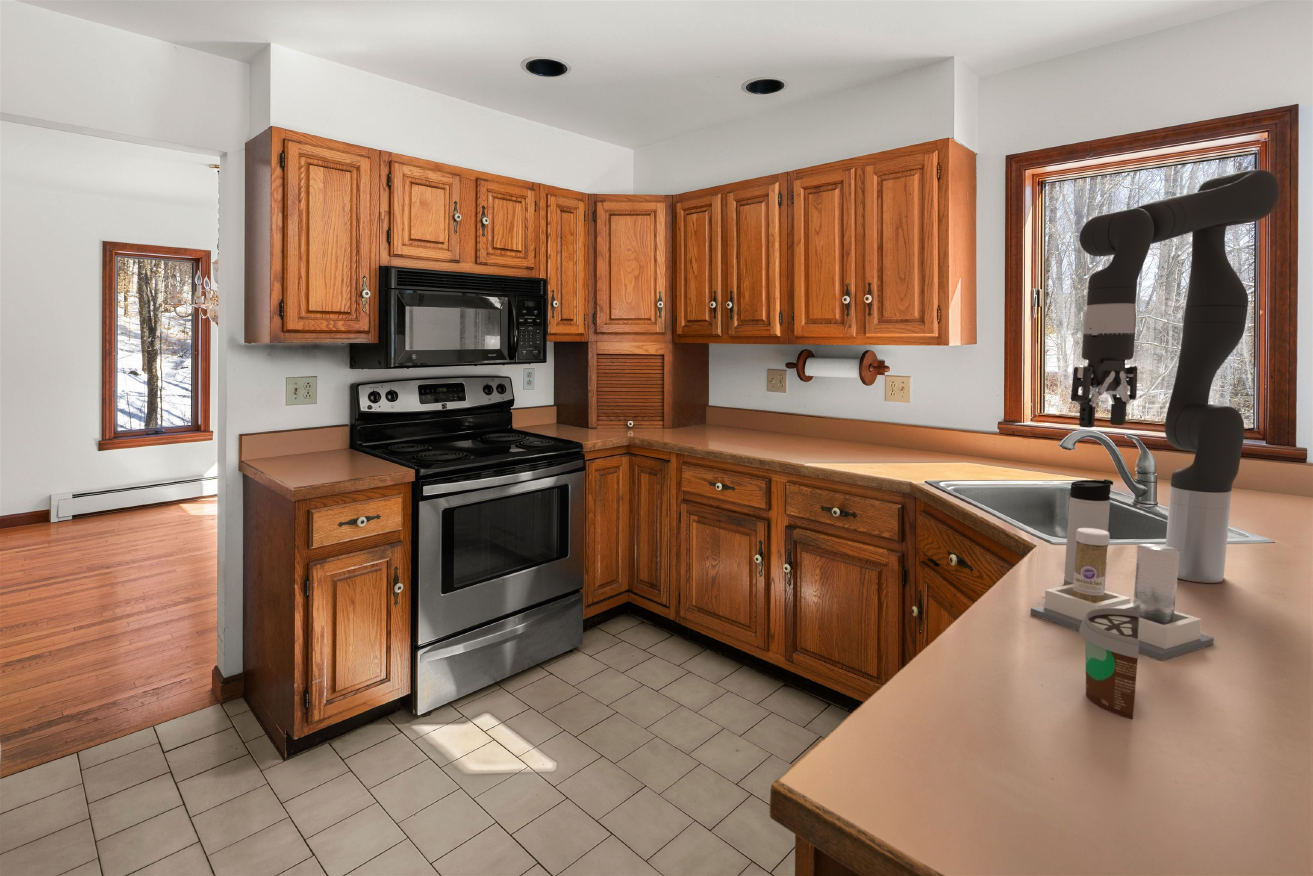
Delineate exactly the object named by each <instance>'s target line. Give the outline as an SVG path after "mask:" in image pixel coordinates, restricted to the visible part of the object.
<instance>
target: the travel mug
mask: <svg viewBox="0 0 1313 876" xmlns="http://www.w3.org/2000/svg"><path fill="white" fill-rule="evenodd" d="M1111 486H1114V481H1113V480H1110V479H1103V480H1102V479H1085V480H1084V479H1082V480H1075V481H1072V482H1071V485H1070V493H1069V494H1070V495H1069V503H1068V514H1067V515H1068V517H1067V531H1066V532H1067V533H1066V547H1065V548H1066V549H1065V561H1064V577H1063V578H1064V579H1063V584H1064V586H1066V585H1071V584H1073V582H1074V569H1075V558H1076V548H1077V543H1076V531H1077V529H1079V528H1094V529H1100V530H1104V531H1107V532H1108V533H1109V520H1110V509H1111V508H1110V507H1111V504H1110V502H1111V496H1110V494H1111V488H1112V487H1111Z"/></svg>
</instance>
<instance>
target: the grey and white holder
mask: <svg viewBox="0 0 1313 876" xmlns="http://www.w3.org/2000/svg"><path fill="white" fill-rule="evenodd" d="M1101 608H1122V609H1132V610H1133V602H1131V597H1128V596H1124V595H1122V594H1117V593H1114V592H1111V591H1108V590H1105V592H1104V598H1103V601H1102V602H1097V603H1092V602H1089V601H1086V600H1083V599H1079V598H1076V597H1073V584H1071V585H1063V586H1057V587H1052V588H1048V589H1045V590H1044V604H1042V605H1039V606H1035V607H1030V615H1033V616H1035V617H1037V616H1038V617H1037V618H1041V619H1043V618H1044V619H1043V620H1046V619H1047V620H1046V621H1048V622H1051V621H1052V623H1054V622H1056V623H1055V624H1057V623H1058V625H1060V626H1062V625H1064V626H1063V627H1065V626H1066V627H1065V628H1068V627H1069V628H1068V629H1071V628H1072V629H1071V630H1074V629H1075V630H1074V631H1076V630H1077V632H1079V629H1080V626H1081V623H1082V620H1083V618H1084V617H1085V616H1086V614H1087V613H1088V612H1089V611H1091V610H1095V609H1101ZM1201 626H1202V618H1199V617H1195V616H1192V615H1188V614H1187V613H1182V612H1179V611H1175V610H1174V621H1173V623H1169V624H1166V625H1162V624H1159V623H1156V622H1152V621H1149V620H1146V619H1143V618H1140V617H1139V629H1138V639H1139V650H1138V654H1140V655H1144V656H1146V657H1149V658H1153V659H1155V660H1157V661H1161V662H1162V661H1166V660H1168V659H1171V658H1174V657H1178V656H1181V655H1184V654H1187V653H1191V652H1194V651H1197V650H1200V649H1199V648H1201V649H1203V648H1207V647H1210V646H1213V645H1214V644H1215V643H1214V642H1215V638H1214V637H1213V636H1209V635H1205V634H1204V633H1203V634H1202V633H1201ZM1209 645H1210V646H1209ZM1206 646H1207V647H1206Z"/></svg>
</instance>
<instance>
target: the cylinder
mask: <svg viewBox="0 0 1313 876" xmlns="http://www.w3.org/2000/svg"><path fill="white" fill-rule="evenodd" d="M1136 553H1137V554H1136V565H1135V566H1136V567H1135V577H1134V578H1135V580H1134V592H1133V593H1134V594H1133V602H1132V603H1133V610H1139V611H1140V616H1139V617H1140V618H1143V619H1146V620H1149V621H1152V622H1156V623H1159V624H1162V625H1166V624H1169V623H1173V621H1174V611H1175V608H1176V599H1177V598H1176V596H1177V584H1178V578H1177V575H1178V563H1179V550H1178V549H1175V548H1172V547H1168V546H1166V545H1163V544H1162V545H1161V544H1156V543H1155V544H1154V543H1151V544H1150V543H1141V544H1138V545H1137V552H1136Z"/></svg>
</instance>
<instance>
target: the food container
mask: <svg viewBox="0 0 1313 876" xmlns="http://www.w3.org/2000/svg"><path fill="white" fill-rule="evenodd" d="M1139 616H1140V611H1139V610H1132V609H1122V608H1101V609H1095V610H1091V611H1089V612H1088V613H1087V614H1086V616H1085V617H1084V618H1083V620H1082V623H1081V626H1080V629H1079V631H1078V633H1079V634H1080V636H1082V637H1083V639H1084V640H1085V641H1084V642H1085V647H1084V651H1085V653H1084V655H1085V657H1084V658H1085V696H1086V698H1087V699H1088V700H1089V701H1090V702H1091V703H1092V704H1094V706H1097V707H1099V708H1100V709H1103V710H1104V711H1106V712H1109V713H1112V714H1114V715H1117V716H1119V717H1123V718H1127V719H1131V720H1134V708H1135V697H1136V696H1135V694H1136V685H1137V684H1136V683H1137V671H1138V662H1139V661H1138V659H1139V653H1138V650H1139V639H1138V629H1139Z"/></svg>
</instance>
